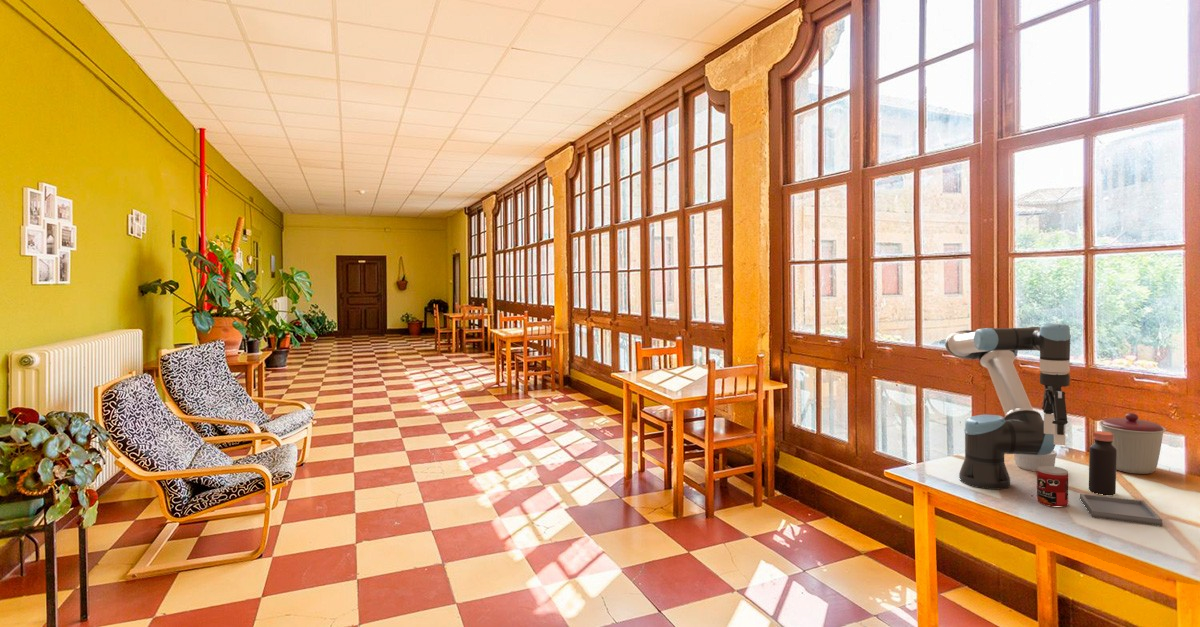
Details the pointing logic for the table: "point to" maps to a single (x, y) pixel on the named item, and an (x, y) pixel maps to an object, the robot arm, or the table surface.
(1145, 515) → the tray
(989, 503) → the table surface
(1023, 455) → the ramekin
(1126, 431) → the canister
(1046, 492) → the canned food
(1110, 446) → the bottle
